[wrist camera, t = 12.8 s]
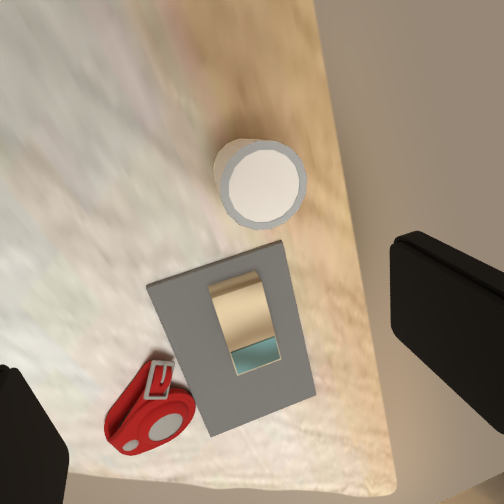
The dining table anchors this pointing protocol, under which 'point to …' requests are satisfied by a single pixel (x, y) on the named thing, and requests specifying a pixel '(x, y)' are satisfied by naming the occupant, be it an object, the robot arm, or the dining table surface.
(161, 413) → the tracker holder
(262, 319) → the birch tile
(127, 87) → the dining table surface
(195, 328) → the rubber mat
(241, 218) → the white cylinder
